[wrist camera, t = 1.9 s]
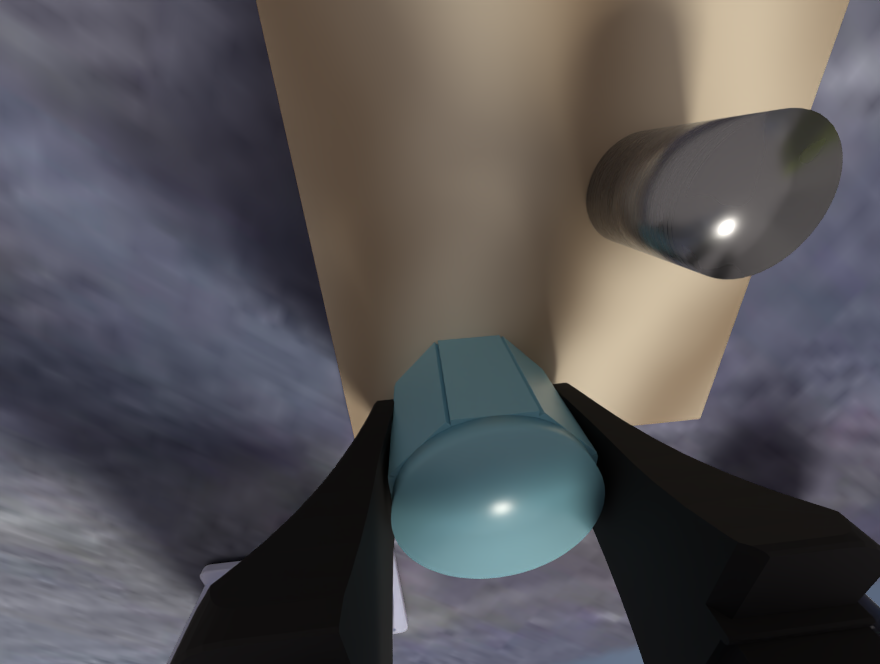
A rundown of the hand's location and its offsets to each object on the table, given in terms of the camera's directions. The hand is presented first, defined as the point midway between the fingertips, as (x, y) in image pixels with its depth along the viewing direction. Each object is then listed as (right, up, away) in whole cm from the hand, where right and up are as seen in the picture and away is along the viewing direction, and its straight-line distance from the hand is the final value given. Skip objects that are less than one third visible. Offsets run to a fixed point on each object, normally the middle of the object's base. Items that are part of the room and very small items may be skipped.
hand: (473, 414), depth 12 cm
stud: (+5, +7, -2) cm, 9 cm away
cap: (0, 0, +1) cm, 1 cm away
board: (+2, +5, -1) cm, 6 cm away
